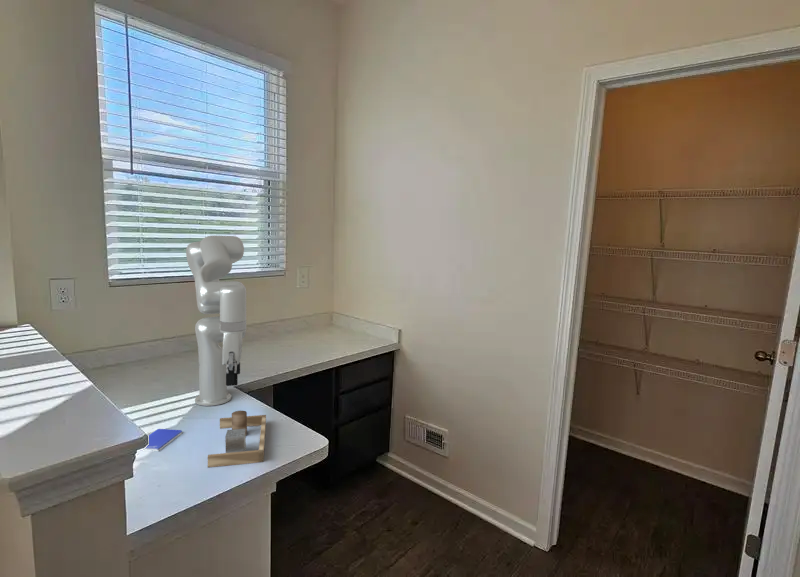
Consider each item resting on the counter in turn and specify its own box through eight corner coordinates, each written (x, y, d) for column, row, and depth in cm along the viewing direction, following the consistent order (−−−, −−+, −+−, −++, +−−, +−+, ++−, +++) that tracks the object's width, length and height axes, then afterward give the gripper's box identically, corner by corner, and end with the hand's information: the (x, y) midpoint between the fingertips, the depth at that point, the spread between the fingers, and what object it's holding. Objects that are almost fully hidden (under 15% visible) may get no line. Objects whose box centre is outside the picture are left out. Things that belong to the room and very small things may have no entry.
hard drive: (158, 448, 127) (182, 429, 140) (130, 446, 128) (157, 428, 140) (158, 453, 128) (182, 434, 140) (131, 451, 128) (157, 433, 140)
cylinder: (232, 432, 141) (232, 411, 140) (247, 431, 142) (247, 410, 142) (231, 438, 137) (230, 416, 136) (246, 437, 138) (246, 415, 137)
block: (227, 449, 130) (227, 430, 129) (245, 448, 131) (245, 428, 130) (225, 457, 125) (225, 436, 125) (244, 455, 127) (244, 435, 126)
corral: (220, 427, 145) (220, 418, 144) (266, 423, 149) (266, 414, 148) (207, 467, 119) (207, 456, 119) (263, 461, 123) (263, 451, 123)
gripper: (223, 319, 143) (223, 370, 146) (216, 333, 127) (216, 390, 129) (248, 319, 145) (247, 369, 148) (244, 333, 129) (244, 389, 131)
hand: (233, 379), depth 139 cm, fingers open, 9 cm apart
